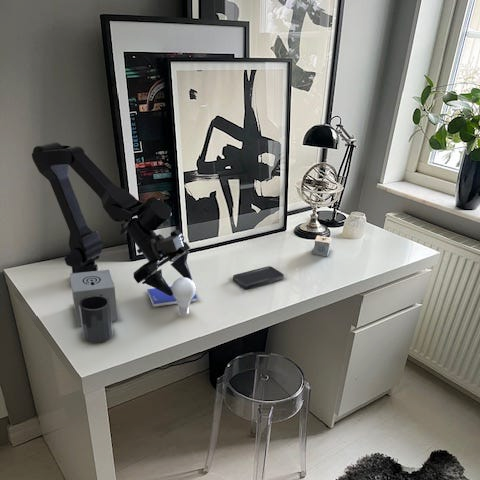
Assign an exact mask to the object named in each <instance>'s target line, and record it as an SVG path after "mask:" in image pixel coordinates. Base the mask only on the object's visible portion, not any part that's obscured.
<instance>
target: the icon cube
mask: <svg viewBox="0 0 480 480" xmlns="http://www.w3.org/2000/svg"><path fill="white" fill-rule="evenodd" d="M69 279H70V286H71V293H72V300H73V301H72V302H73V307H74V313H75V314H74V315H75V318H76V324H77V327H82V324H81V317H80V309H79V302H80V301H81V300H82V299H83V298H85V297H88V296H93V295H99V296H104V297H106V298H108V299H109V301H110V311H111V322H117V321H118V311H117V310H118V309H117V299H116V287H115V283H114V281H113V278H112V274H111V272H110V269H101V270H98V271H91V272H81V273H72V272H71V273H69Z"/></svg>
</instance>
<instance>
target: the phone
mask: <svg viewBox="0 0 480 480" xmlns="http://www.w3.org/2000/svg"><path fill="white" fill-rule="evenodd" d="M284 277H285V274H284V273H282V272H281V271H279V270H278V269H276V268H274V267H273V266H270V265H269V266H263V267H260V268H256V269H252V270H248V271H245V272H241V273H236V274H233V276H232V280H233V281H234V282H235V283H236V284H238V286H240V287H241V288H243V289H245V290H250V289H253V288H256V287H260V286H264V285H267V284H271V283H275V282H279V281H281V280H283V279H284Z"/></svg>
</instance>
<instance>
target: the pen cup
mask: <svg viewBox="0 0 480 480" xmlns="http://www.w3.org/2000/svg"><path fill="white" fill-rule="evenodd" d="M79 309H80V317H81V324H82V326H81V331H82V338H83V340H84V341H86V342H87V343H90V344H102V343H106V342H108V341H109V340H111V338H112V337H113V324H112V322H113V321H112V322H111V311H110V301H109V299H108V298H106V297H104V296H99V295H93V296H88V297H85V298H83V299H82V300H81V301H80V302H79Z"/></svg>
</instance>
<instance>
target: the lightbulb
mask: <svg viewBox="0 0 480 480" xmlns="http://www.w3.org/2000/svg"><path fill="white" fill-rule="evenodd" d="M171 286H172V292H173V296H174V297H175V299H176V300H177V303H178V304H177V305H178V314H179V315H180V316H183V317H184V316H187V315H189V314H190V308H189V307H190V305H191V302H190V301H191V299H192V298H193V297H194V295H196V293H197V287H196V284H195V282H194V281H193V279H192V280H191V279H189V278H186V277H183V276H182V277H178V278H177V279H175V280H174V282H173V283H172V285H171Z"/></svg>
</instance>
